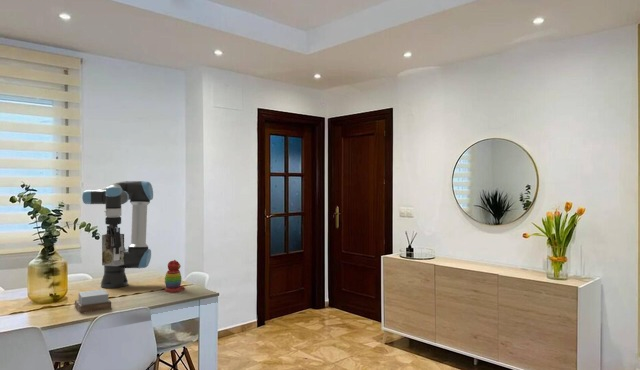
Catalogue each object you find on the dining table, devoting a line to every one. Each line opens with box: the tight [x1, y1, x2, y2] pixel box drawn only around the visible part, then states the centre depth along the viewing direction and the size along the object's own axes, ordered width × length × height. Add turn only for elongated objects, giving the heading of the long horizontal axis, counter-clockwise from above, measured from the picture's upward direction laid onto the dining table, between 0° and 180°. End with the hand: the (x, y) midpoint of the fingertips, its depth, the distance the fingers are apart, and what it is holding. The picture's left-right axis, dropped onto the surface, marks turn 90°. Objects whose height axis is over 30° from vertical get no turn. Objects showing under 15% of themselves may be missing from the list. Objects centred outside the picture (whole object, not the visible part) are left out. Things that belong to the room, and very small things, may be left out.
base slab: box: [74, 298, 112, 314], centre depth 227 cm, size 14×14×4 cm
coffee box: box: [101, 233, 125, 267], centre depth 232 cm, size 9×6×16 cm
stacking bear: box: [164, 259, 186, 294], centre depth 264 cm, size 11×10×18 cm
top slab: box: [78, 288, 109, 305], centre depth 227 cm, size 12×12×4 cm
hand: (113, 258), depth 232 cm, fingers closed on coffee box, 11 cm apart
